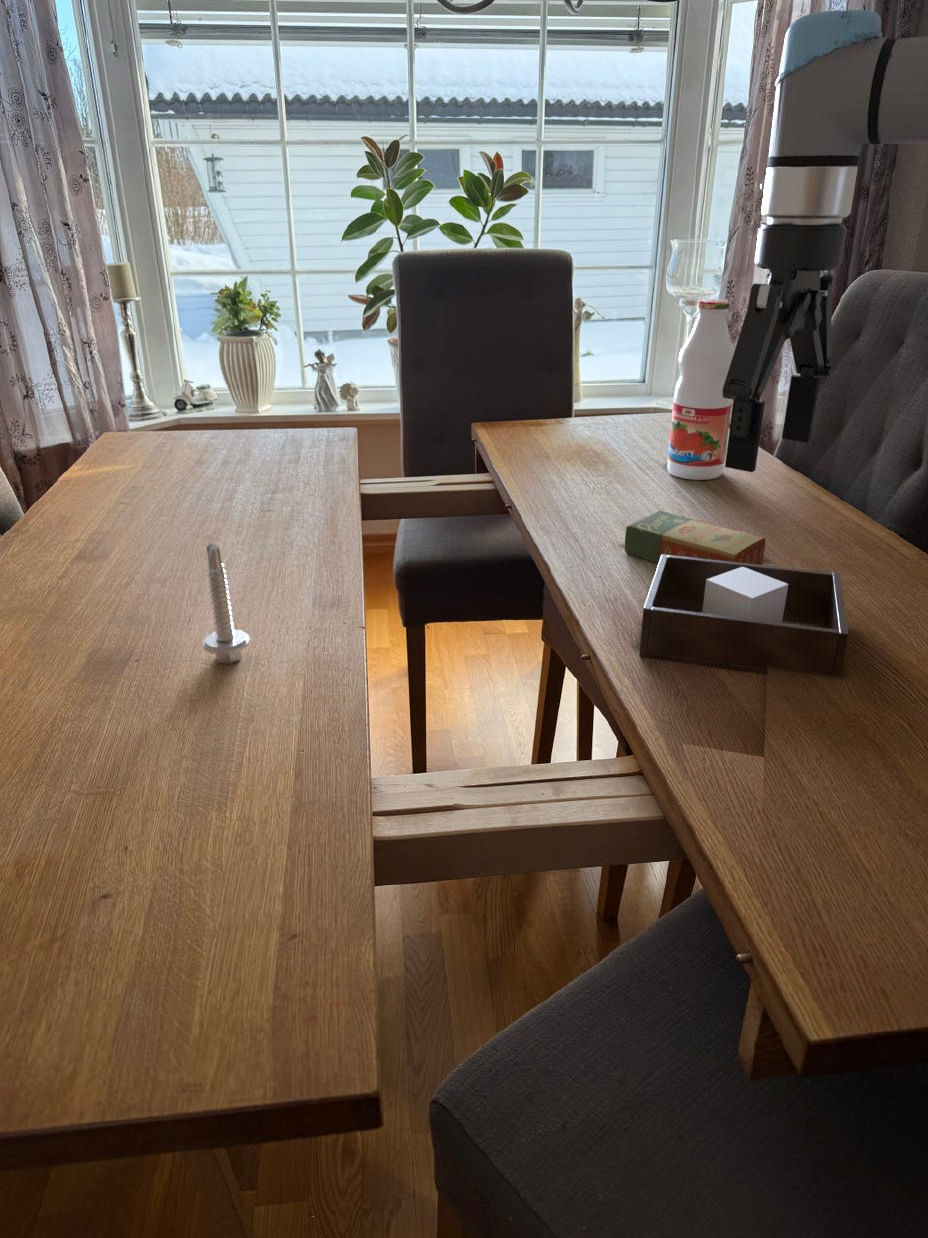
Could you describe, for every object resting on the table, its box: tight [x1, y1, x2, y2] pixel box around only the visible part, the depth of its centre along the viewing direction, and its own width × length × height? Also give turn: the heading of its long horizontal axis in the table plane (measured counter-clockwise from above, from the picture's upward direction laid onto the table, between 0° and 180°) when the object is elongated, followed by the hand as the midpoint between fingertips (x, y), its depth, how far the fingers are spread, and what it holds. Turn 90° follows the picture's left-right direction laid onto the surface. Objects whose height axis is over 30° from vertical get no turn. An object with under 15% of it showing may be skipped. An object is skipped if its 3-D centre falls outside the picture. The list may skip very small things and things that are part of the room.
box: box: [638, 554, 849, 677], centre depth 96 cm, size 20×16×6 cm
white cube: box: [702, 567, 788, 623], centre depth 95 cm, size 6×6×6 cm
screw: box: [201, 542, 251, 665], centre depth 90 cm, size 13×5×5 cm
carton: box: [624, 510, 767, 565], centre depth 116 cm, size 8×16×4 cm, turn 46°
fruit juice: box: [666, 298, 736, 481], centre depth 145 cm, size 9×9×28 cm
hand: (769, 453), depth 89 cm, fingers open, 13 cm apart
